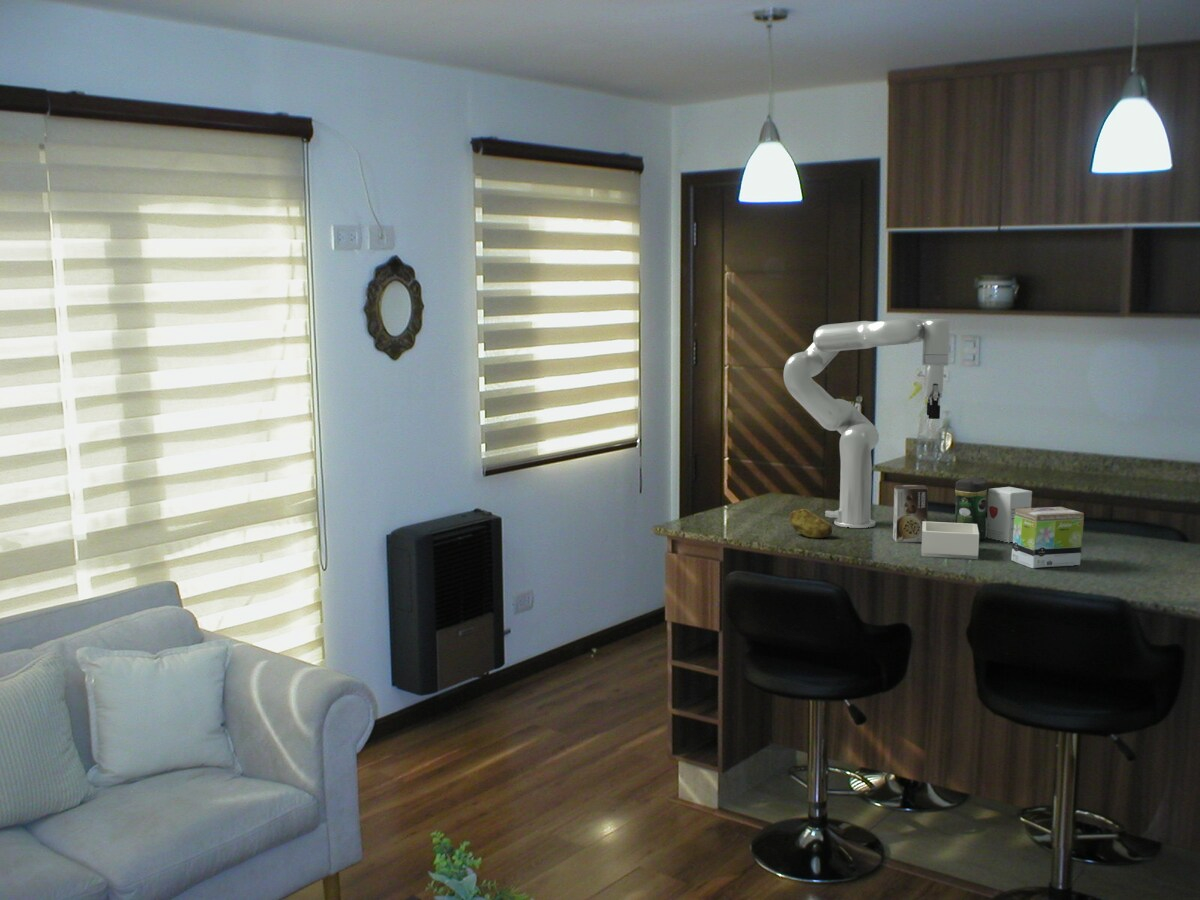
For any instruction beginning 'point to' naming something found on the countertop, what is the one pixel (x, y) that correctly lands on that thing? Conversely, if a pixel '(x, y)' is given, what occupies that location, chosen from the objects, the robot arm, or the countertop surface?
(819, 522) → the potato
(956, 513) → the coffee jar
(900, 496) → the coffee box
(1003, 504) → the supplement box
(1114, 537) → the countertop surface
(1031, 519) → the tea box
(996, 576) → the countertop surface
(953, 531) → the tote
